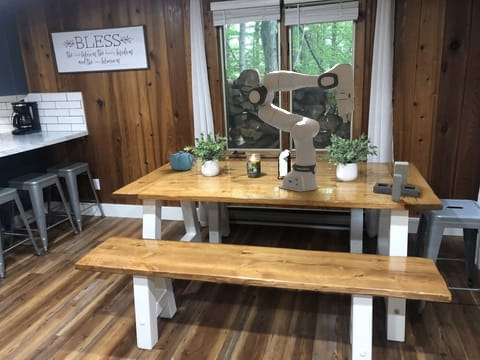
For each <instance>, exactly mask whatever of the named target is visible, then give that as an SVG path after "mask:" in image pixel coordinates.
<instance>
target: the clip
mask: <svg viewBox="0 0 480 360" xmlns="http://www.w3.org/2000/svg"><path fill="white" fill-rule="evenodd" d="M401 180H402V175H400V174H394V173H393V176H392V184H393V186H392V194H391V201H393V202H400V200H401V195H400V194H401Z"/></svg>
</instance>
